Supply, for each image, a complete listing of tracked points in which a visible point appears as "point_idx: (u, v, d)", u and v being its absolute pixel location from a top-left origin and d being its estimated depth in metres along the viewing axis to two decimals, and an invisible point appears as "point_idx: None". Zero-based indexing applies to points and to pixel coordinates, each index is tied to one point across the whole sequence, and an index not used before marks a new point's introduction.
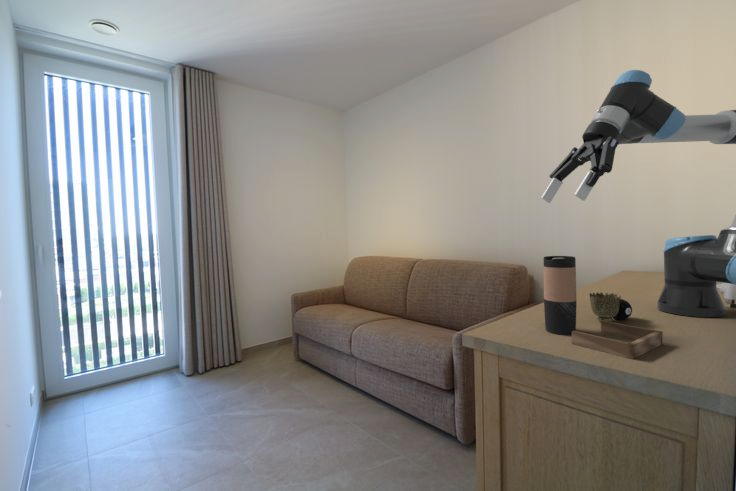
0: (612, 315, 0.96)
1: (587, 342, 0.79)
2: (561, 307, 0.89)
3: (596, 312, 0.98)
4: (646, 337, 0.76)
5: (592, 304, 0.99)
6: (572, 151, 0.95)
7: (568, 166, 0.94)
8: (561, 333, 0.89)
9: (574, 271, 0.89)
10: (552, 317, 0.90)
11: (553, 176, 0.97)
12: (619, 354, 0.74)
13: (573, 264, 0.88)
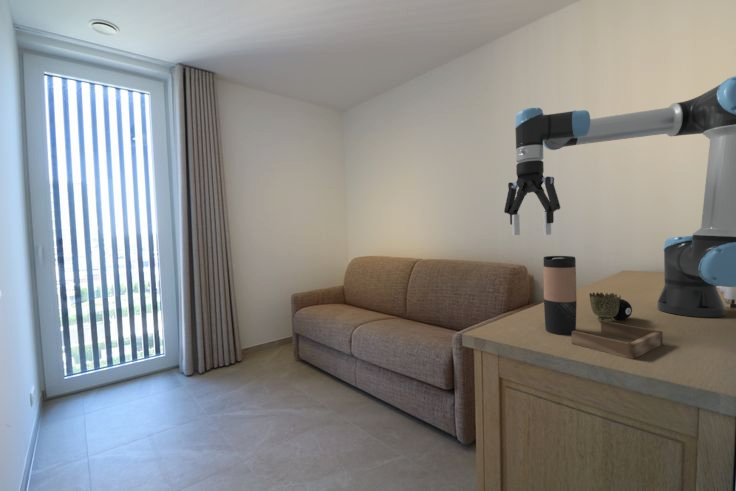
0: (612, 315, 0.96)
1: (587, 342, 0.79)
2: (561, 307, 0.89)
3: (596, 312, 0.98)
4: (646, 337, 0.76)
5: (592, 304, 0.99)
6: (510, 186, 1.10)
7: (518, 200, 1.08)
8: (561, 333, 0.89)
9: (574, 271, 0.89)
10: (552, 317, 0.90)
11: (511, 213, 1.10)
12: (619, 354, 0.74)
13: (573, 264, 0.88)
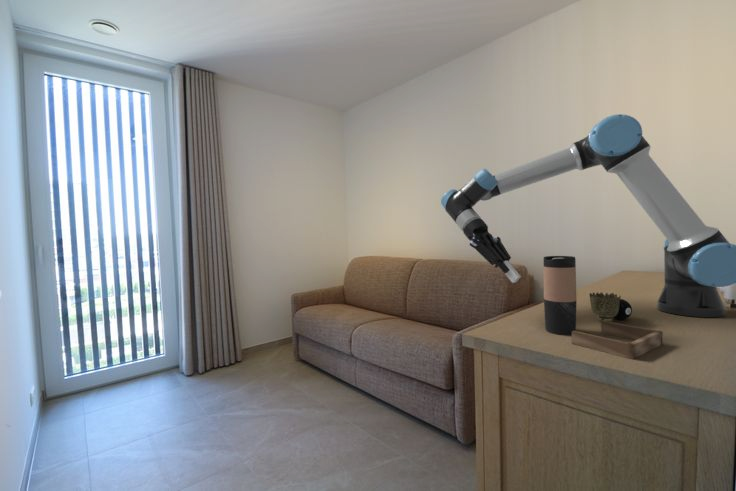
0: (612, 315, 0.96)
1: (587, 342, 0.79)
2: (561, 307, 0.89)
3: (596, 312, 0.98)
4: (646, 337, 0.76)
5: (592, 304, 0.99)
6: None
7: None
8: (561, 333, 0.89)
9: (574, 271, 0.89)
10: (552, 317, 0.90)
11: None
12: (619, 354, 0.74)
13: (573, 264, 0.88)
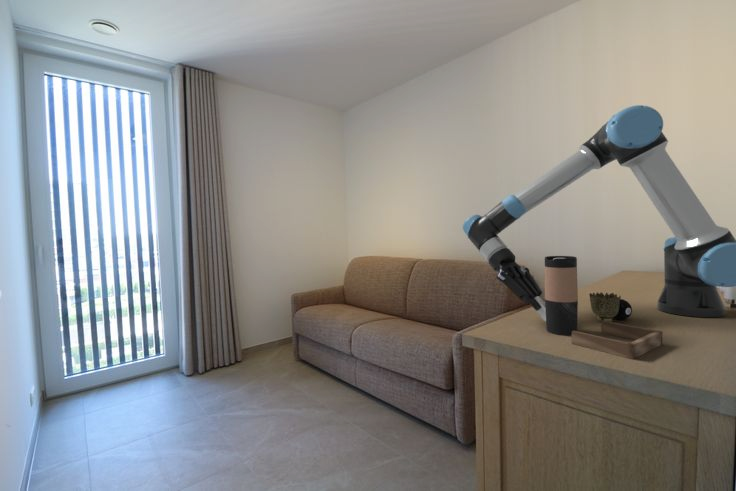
0: (612, 315, 0.96)
1: (587, 342, 0.79)
2: (562, 308, 0.88)
3: (596, 312, 0.98)
4: (646, 337, 0.76)
5: (592, 304, 0.99)
6: None
7: None
8: (562, 333, 0.89)
9: (575, 271, 0.88)
10: (553, 317, 0.90)
11: None
12: (619, 354, 0.74)
13: (574, 264, 0.88)
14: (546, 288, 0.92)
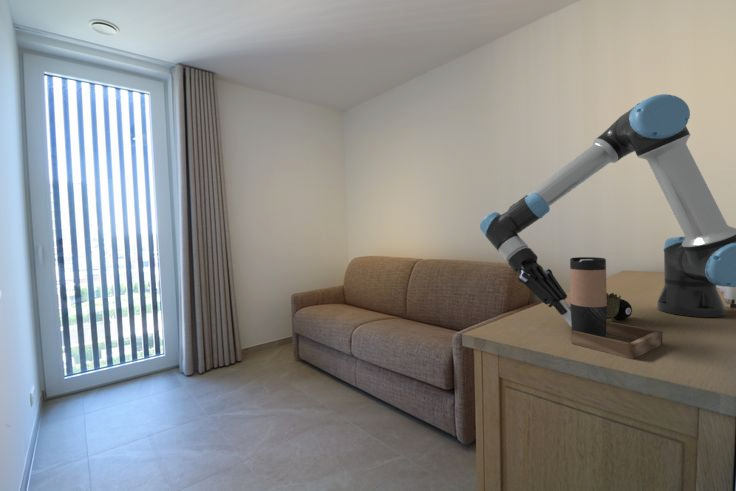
0: (612, 315, 0.96)
1: (587, 342, 0.79)
2: (591, 313, 0.82)
3: None
4: (646, 337, 0.76)
5: None
6: None
7: None
8: None
9: (605, 274, 0.82)
10: (581, 323, 0.84)
11: None
12: (619, 354, 0.74)
13: (604, 266, 0.82)
14: (572, 292, 0.86)
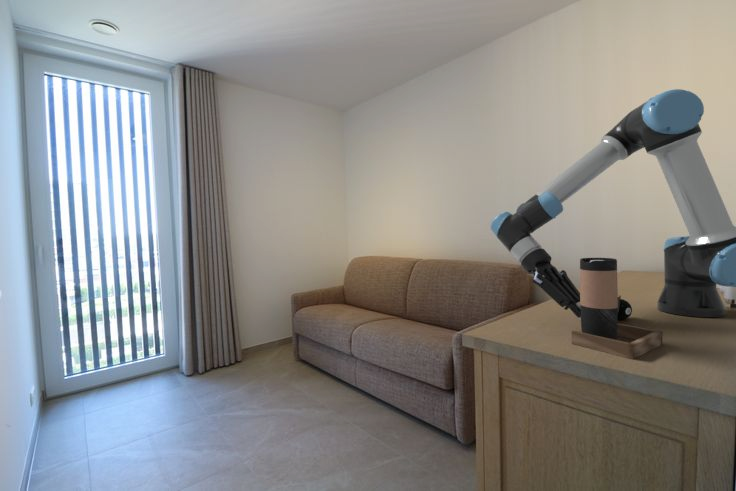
0: None
1: (587, 342, 0.79)
2: (601, 315, 0.80)
3: None
4: (646, 337, 0.76)
5: None
6: None
7: None
8: None
9: (616, 275, 0.80)
10: (591, 325, 0.82)
11: None
12: (619, 354, 0.74)
13: (615, 267, 0.80)
14: (582, 293, 0.84)
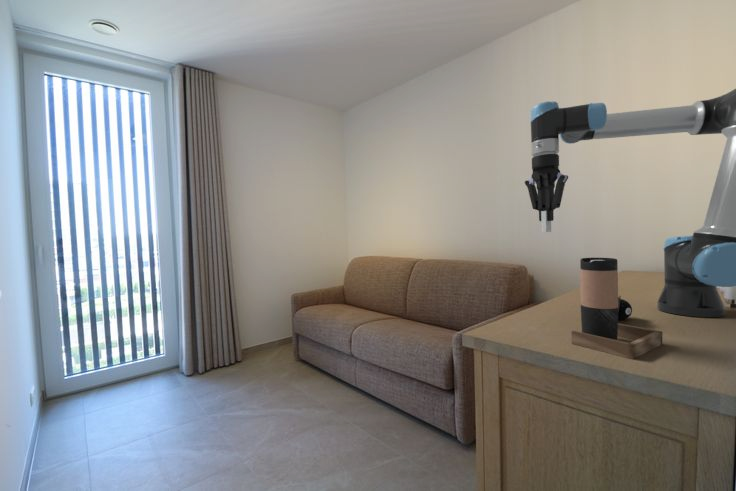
0: None
1: (587, 342, 0.79)
2: (601, 315, 0.80)
3: None
4: (646, 337, 0.76)
5: None
6: (528, 183, 1.10)
7: (542, 194, 1.07)
8: None
9: (616, 274, 0.80)
10: (591, 325, 0.82)
11: (540, 208, 1.07)
12: (619, 354, 0.74)
13: (615, 267, 0.80)
14: (582, 293, 0.84)
